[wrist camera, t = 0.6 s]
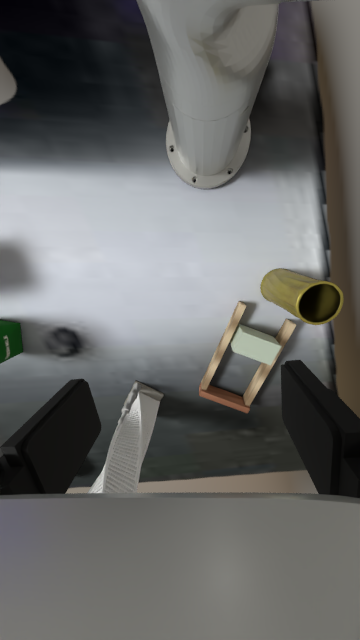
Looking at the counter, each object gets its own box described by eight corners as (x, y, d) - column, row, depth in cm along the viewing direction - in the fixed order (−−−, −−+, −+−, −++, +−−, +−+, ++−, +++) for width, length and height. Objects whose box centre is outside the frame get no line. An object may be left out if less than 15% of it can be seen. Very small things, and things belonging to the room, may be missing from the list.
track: (238, 301, 40) (241, 305, 37) (290, 320, 40) (298, 326, 37) (199, 386, 46) (199, 395, 43) (244, 402, 46) (247, 413, 43)
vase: (294, 264, 37) (348, 272, 23) (296, 298, 38) (348, 323, 25) (258, 272, 38) (290, 283, 24) (262, 305, 39) (293, 332, 26)
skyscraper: (169, 396, 48) (129, 578, 21) (154, 421, 50) (102, 612, 24) (135, 380, 47) (50, 545, 21) (122, 406, 50) (32, 583, 23)
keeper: (238, 323, 41) (242, 331, 36) (273, 336, 41) (281, 346, 36) (229, 341, 42) (232, 351, 38) (263, 354, 42) (270, 365, 38)
